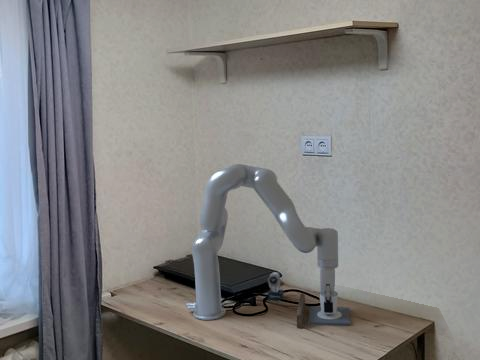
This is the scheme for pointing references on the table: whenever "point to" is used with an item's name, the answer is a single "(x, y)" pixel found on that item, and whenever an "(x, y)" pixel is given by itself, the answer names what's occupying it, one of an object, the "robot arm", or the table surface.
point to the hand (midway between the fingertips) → (328, 308)
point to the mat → (329, 317)
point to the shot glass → (334, 300)
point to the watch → (275, 287)
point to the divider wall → (300, 310)
